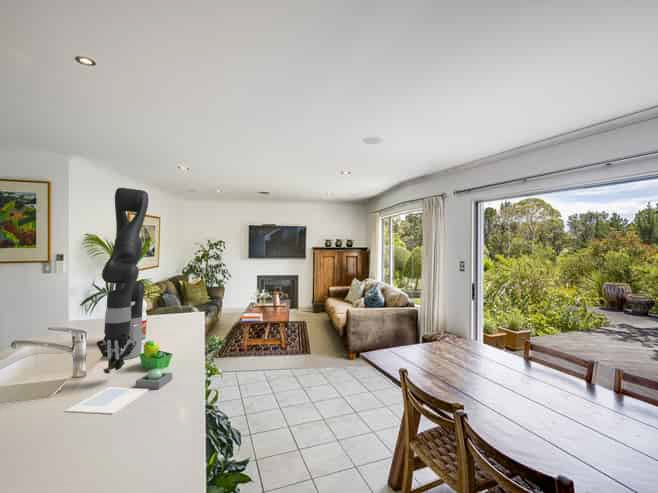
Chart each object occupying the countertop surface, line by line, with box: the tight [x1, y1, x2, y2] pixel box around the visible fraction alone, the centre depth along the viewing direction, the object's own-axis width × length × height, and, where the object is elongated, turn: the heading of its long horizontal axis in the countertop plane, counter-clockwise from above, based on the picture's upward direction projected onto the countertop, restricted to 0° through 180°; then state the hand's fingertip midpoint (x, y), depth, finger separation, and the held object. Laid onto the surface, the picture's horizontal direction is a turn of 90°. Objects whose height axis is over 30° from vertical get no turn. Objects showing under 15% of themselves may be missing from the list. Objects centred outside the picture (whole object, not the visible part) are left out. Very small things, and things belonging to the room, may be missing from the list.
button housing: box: [135, 372, 173, 390], centre depth 104 cm, size 8×8×2 cm
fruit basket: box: [138, 340, 174, 370], centre depth 120 cm, size 11×9×11 cm
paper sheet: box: [64, 386, 150, 415], centre depth 92 cm, size 16×14×1 cm
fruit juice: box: [131, 297, 148, 344], centre depth 151 cm, size 9×9×28 cm
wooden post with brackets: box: [102, 359, 125, 375], centre depth 105 cm, size 2×8×4 cm, turn 175°
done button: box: [147, 369, 163, 380], centre depth 104 cm, size 4×4×3 cm
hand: (115, 368), depth 105 cm, fingers closed on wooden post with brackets, 1 cm apart
